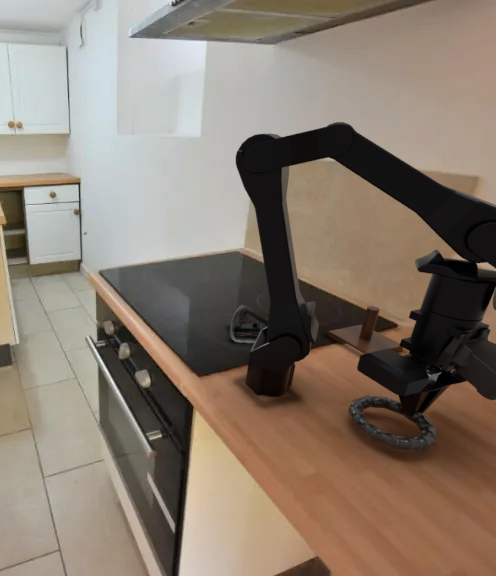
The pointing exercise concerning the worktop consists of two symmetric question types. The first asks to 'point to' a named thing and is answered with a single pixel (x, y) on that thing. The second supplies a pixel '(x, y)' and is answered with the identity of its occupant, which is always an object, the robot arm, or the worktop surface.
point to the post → (365, 335)
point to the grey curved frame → (246, 324)
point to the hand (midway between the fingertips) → (412, 413)
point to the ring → (388, 439)
